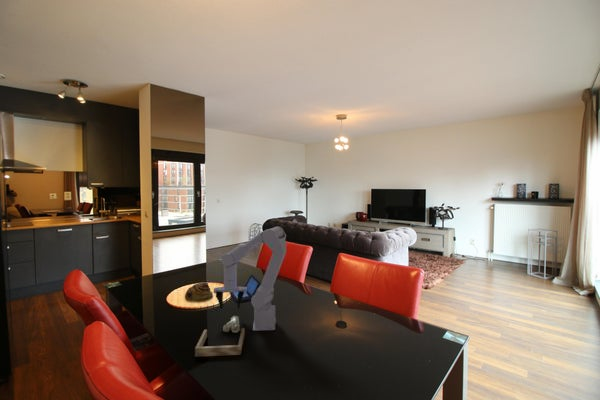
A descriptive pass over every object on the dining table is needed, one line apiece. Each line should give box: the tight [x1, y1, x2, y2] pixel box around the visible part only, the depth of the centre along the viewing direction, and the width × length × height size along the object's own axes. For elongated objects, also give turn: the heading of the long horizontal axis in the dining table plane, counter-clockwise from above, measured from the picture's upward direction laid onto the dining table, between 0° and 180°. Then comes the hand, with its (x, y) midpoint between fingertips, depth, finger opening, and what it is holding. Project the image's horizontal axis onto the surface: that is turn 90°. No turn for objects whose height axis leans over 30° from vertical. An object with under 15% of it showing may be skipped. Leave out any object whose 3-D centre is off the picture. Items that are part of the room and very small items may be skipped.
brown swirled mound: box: [184, 281, 214, 302], centre depth 152 cm, size 13×15×8 cm
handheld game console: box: [229, 274, 261, 304], centre depth 153 cm, size 16×13×9 cm
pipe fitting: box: [222, 315, 241, 334], centre depth 118 cm, size 8×4×7 cm
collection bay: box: [194, 327, 246, 358], centre depth 106 cm, size 16×13×3 cm
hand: (230, 307), depth 126 cm, fingers open, 7 cm apart
